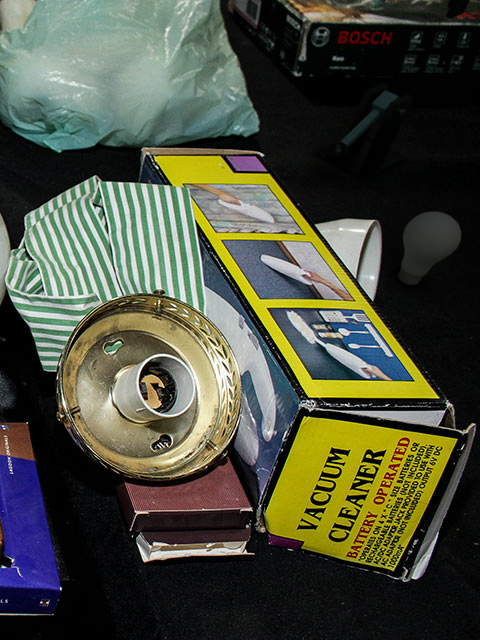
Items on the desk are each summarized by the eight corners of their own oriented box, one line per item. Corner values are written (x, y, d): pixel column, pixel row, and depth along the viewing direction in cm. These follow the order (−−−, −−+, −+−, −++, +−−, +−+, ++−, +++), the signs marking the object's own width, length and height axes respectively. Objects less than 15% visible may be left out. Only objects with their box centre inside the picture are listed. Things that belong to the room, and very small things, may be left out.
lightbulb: (433, 280, 115) (473, 211, 107) (426, 306, 111) (467, 237, 104) (383, 264, 117) (419, 196, 110) (375, 289, 113) (411, 220, 106)
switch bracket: (362, 185, 131) (394, 114, 123) (316, 161, 136) (344, 91, 128) (401, 165, 135) (435, 95, 127) (355, 142, 140) (385, 74, 132)
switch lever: (337, 171, 129) (338, 158, 126) (319, 161, 131) (318, 148, 128) (400, 109, 129) (402, 95, 126) (381, 100, 131) (382, 86, 128)
